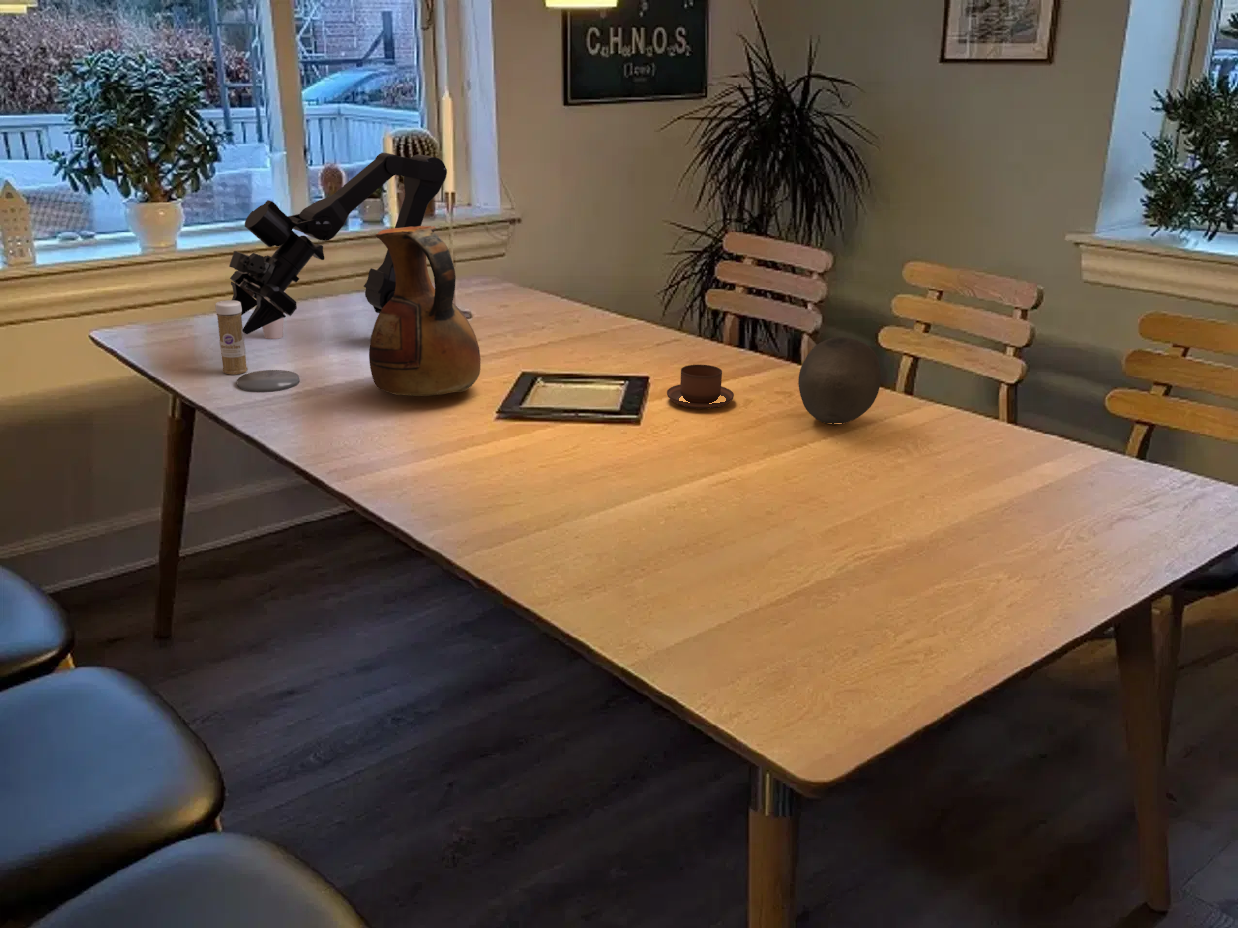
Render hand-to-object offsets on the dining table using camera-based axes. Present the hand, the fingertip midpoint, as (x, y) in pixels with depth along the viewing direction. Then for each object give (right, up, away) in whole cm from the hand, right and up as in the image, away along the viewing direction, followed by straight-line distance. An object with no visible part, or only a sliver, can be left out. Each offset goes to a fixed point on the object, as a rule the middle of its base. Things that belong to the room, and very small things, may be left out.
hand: (235, 327), depth 208 cm
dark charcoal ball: (+109, -19, -18) cm, 112 cm away
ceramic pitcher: (+37, -13, -6) cm, 40 cm away
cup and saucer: (+86, -15, -8) cm, 88 cm away
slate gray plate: (+7, -11, -3) cm, 13 cm away
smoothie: (-1, +1, +26) cm, 26 cm away
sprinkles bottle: (-1, -8, +3) cm, 9 cm away
